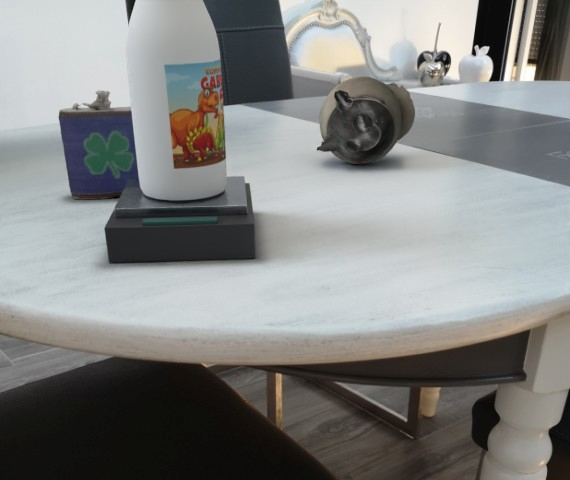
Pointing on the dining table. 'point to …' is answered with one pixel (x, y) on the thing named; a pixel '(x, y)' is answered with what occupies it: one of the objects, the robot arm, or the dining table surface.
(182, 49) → the milk bottle
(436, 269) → the dining table surface
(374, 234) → the dining table surface
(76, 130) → the flask
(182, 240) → the scale
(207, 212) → the scale platform
